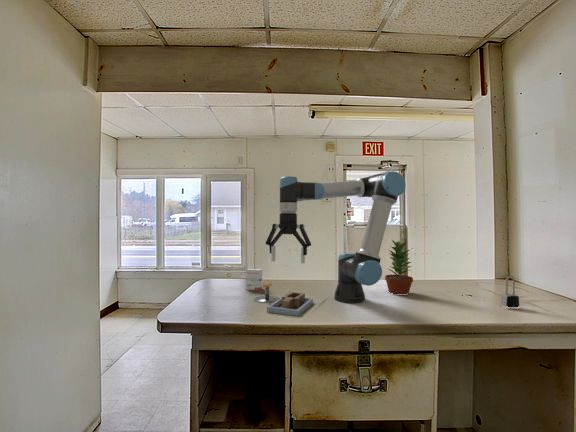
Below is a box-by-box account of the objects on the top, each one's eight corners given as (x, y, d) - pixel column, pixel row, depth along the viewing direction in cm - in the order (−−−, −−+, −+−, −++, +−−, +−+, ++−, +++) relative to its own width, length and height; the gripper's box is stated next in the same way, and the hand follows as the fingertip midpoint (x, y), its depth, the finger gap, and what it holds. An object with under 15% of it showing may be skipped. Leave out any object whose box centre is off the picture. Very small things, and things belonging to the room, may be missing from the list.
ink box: (262, 289, 175) (262, 268, 175) (260, 292, 170) (261, 270, 170) (247, 289, 176) (247, 268, 176) (245, 291, 171) (245, 269, 171)
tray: (312, 304, 146) (313, 298, 146) (298, 318, 127) (298, 310, 127) (285, 301, 151) (285, 295, 151) (266, 313, 132) (266, 306, 132)
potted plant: (418, 296, 164) (419, 239, 164) (389, 296, 164) (390, 239, 164) (408, 290, 179) (408, 237, 179) (381, 289, 179) (382, 237, 179)
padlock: (513, 306, 148) (513, 275, 148) (520, 309, 144) (520, 276, 144) (499, 306, 148) (500, 274, 148) (506, 309, 143) (506, 276, 143)
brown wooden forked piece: (290, 302, 148) (290, 291, 148) (304, 304, 146) (304, 293, 146) (277, 311, 134) (277, 299, 134) (293, 313, 131) (293, 301, 131)
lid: (284, 299, 155) (284, 282, 155) (274, 306, 143) (274, 287, 143) (260, 296, 159) (261, 279, 159) (248, 303, 147) (249, 285, 147)
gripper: (258, 212, 136) (257, 261, 136) (313, 212, 127) (313, 265, 127) (265, 212, 143) (265, 259, 143) (318, 212, 134) (318, 262, 134)
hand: (287, 262), depth 135 cm, fingers open, 13 cm apart
